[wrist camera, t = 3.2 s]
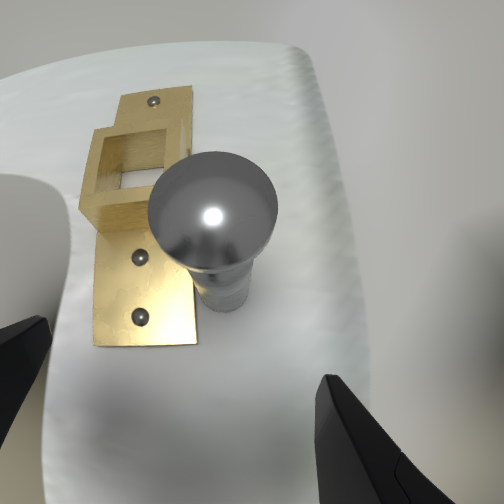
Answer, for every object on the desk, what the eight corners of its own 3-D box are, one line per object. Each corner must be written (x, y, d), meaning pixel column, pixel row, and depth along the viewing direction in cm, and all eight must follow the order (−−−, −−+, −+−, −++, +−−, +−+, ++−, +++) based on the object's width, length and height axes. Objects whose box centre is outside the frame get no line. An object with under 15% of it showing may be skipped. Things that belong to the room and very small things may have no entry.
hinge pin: (234, 332, 20) (232, 293, 9) (179, 297, 20) (122, 223, 9) (267, 278, 21) (300, 186, 10) (214, 247, 22) (197, 135, 11)
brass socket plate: (197, 343, 19) (187, 338, 15) (98, 346, 19) (66, 340, 15) (192, 91, 27) (188, 55, 23) (123, 100, 26) (111, 67, 22)
